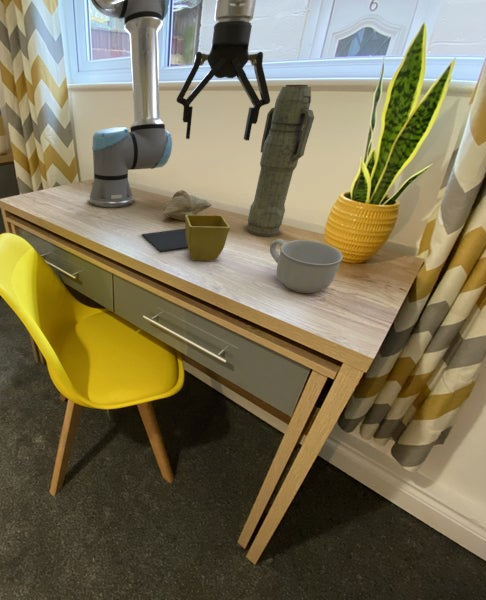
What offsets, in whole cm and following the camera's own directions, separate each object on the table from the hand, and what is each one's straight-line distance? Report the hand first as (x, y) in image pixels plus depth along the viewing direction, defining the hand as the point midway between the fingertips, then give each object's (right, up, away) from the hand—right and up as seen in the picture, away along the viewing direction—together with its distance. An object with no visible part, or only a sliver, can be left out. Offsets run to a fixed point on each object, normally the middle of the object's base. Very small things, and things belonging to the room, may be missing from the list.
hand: (216, 139), depth 78 cm
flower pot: (-3, -28, +1) cm, 28 cm away
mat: (-8, -22, +10) cm, 25 cm away
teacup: (+14, -35, -9) cm, 38 cm away
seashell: (-4, -13, +25) cm, 28 cm away
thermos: (+18, -18, +16) cm, 30 cm away
